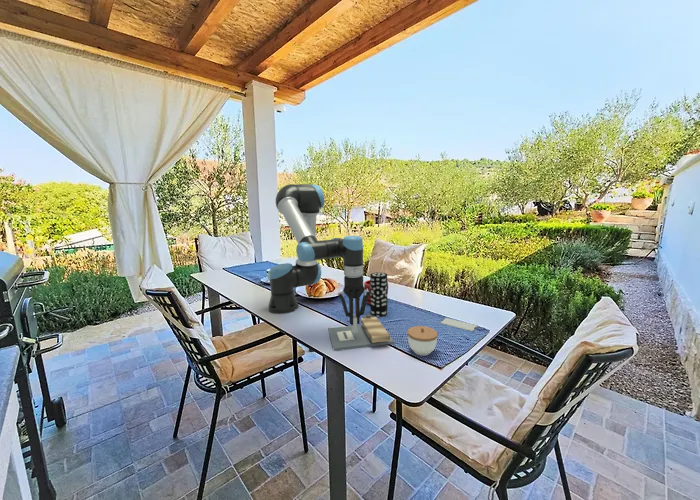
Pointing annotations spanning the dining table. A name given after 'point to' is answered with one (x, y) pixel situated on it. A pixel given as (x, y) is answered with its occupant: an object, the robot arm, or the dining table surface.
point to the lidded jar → (422, 339)
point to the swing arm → (374, 329)
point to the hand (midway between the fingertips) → (354, 331)
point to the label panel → (352, 338)
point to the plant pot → (367, 286)
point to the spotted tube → (378, 294)
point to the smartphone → (459, 324)
